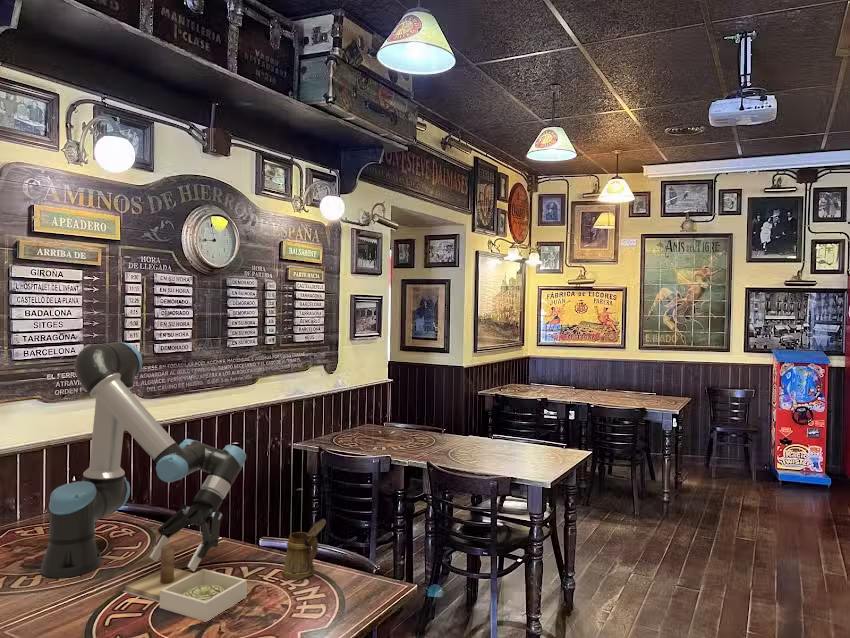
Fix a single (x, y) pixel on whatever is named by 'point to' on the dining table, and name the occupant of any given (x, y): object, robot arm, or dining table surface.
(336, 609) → the dining table surface
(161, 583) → the oak cover
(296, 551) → the wooden mug
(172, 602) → the wooden box
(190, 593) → the decorated donut
